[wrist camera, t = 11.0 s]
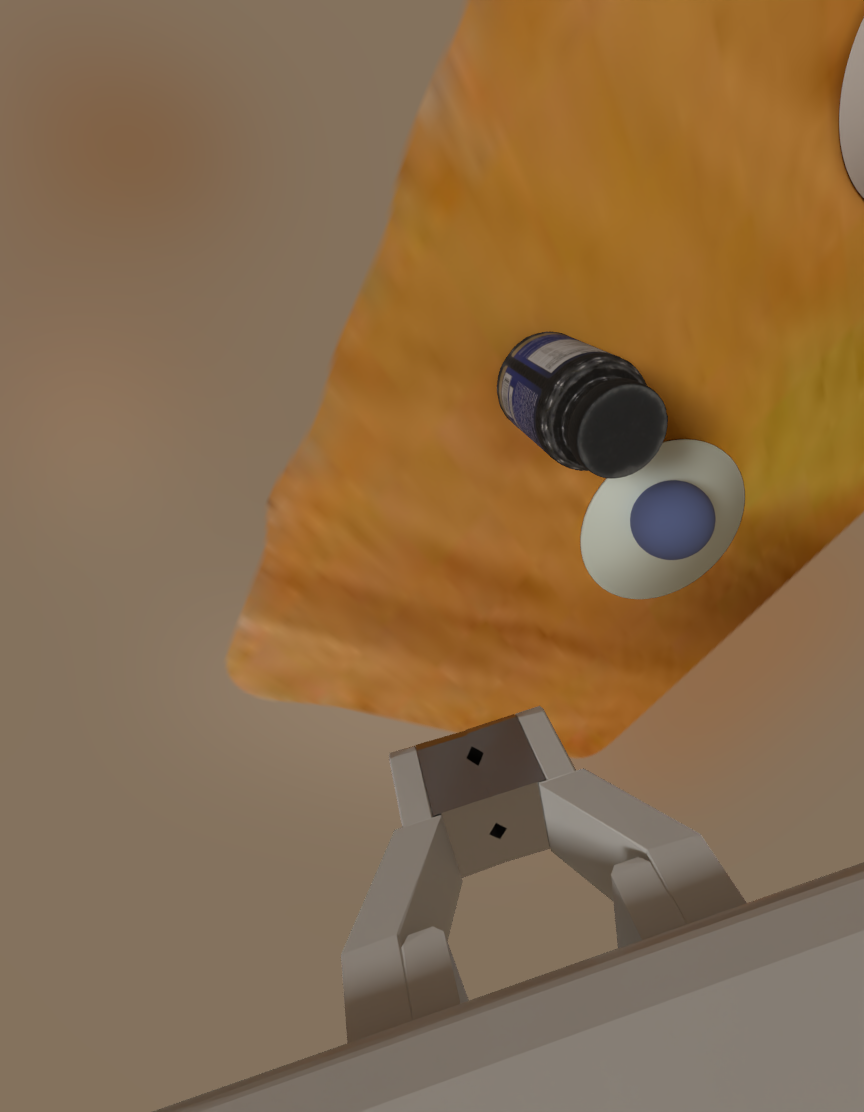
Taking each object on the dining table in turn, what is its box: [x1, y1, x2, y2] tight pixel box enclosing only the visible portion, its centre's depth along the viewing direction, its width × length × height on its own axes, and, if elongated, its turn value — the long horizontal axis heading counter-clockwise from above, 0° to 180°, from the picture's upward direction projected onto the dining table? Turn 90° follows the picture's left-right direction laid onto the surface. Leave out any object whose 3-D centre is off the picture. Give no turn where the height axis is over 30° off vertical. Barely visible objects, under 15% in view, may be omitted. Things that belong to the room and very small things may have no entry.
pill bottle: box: [497, 332, 668, 479], centre depth 34 cm, size 6×6×11 cm
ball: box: [630, 480, 716, 560], centre depth 43 cm, size 6×6×6 cm
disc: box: [580, 439, 745, 599], centre depth 46 cm, size 13×13×1 cm
